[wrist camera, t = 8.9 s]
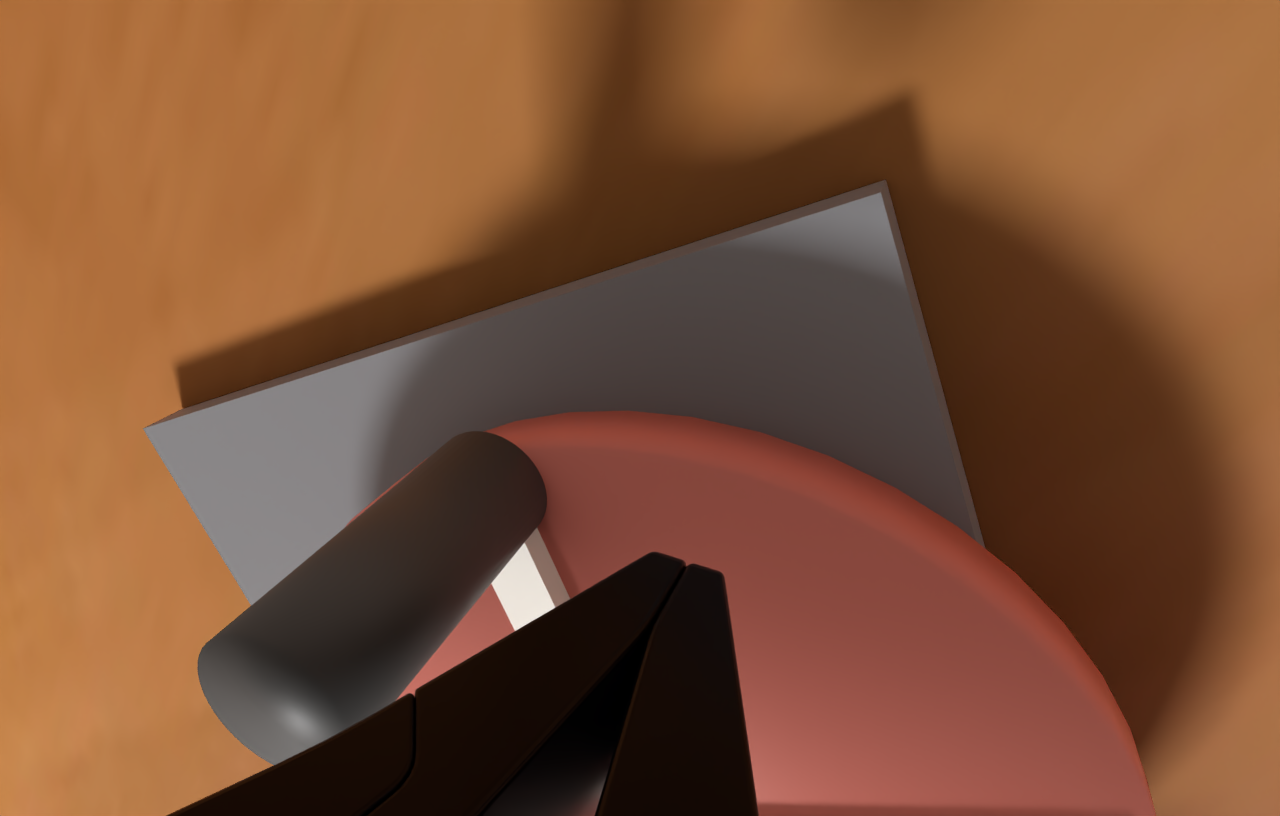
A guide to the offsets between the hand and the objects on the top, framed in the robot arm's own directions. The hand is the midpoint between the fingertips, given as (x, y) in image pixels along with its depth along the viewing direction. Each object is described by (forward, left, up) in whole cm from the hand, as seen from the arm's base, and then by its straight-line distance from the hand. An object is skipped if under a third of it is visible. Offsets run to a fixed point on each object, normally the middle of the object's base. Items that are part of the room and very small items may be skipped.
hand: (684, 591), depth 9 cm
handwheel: (+3, +6, -3) cm, 7 cm away
